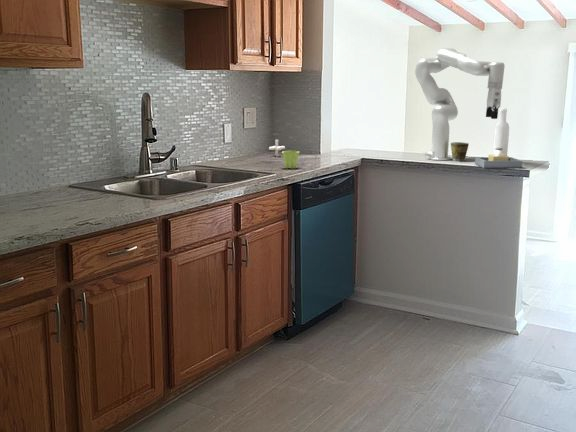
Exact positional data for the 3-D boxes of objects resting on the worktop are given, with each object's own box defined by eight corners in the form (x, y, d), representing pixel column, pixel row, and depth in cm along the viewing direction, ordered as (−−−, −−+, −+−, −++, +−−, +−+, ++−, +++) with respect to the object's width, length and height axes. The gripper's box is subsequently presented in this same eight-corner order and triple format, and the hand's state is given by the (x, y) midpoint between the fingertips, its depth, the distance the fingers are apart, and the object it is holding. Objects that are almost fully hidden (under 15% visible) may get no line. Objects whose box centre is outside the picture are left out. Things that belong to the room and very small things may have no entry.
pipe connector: (266, 155, 383) (266, 139, 380) (280, 154, 387) (280, 138, 385) (272, 157, 374) (272, 140, 372) (287, 156, 378) (287, 140, 376)
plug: (495, 165, 334) (496, 148, 332) (493, 164, 338) (494, 147, 336) (502, 165, 334) (503, 148, 332) (499, 164, 338) (501, 147, 336)
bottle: (497, 163, 349) (501, 109, 342) (489, 161, 356) (493, 108, 350) (509, 162, 351) (513, 108, 344) (501, 160, 358) (505, 108, 352)
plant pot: (278, 167, 332) (278, 151, 330) (290, 166, 338) (290, 150, 336) (290, 169, 325) (290, 153, 323) (303, 167, 331) (303, 151, 330)
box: (483, 168, 328) (484, 157, 327) (474, 164, 344) (475, 153, 342) (521, 168, 328) (522, 157, 327) (510, 164, 344) (511, 153, 342)
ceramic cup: (452, 158, 367) (453, 142, 365) (469, 160, 362) (470, 142, 360) (446, 161, 356) (447, 144, 354) (463, 162, 351) (464, 144, 349)
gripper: (507, 86, 326) (503, 119, 331) (496, 85, 343) (493, 116, 347) (492, 86, 326) (489, 119, 331) (483, 84, 343) (480, 116, 347)
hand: (491, 117), depth 339 cm, fingers open, 9 cm apart
